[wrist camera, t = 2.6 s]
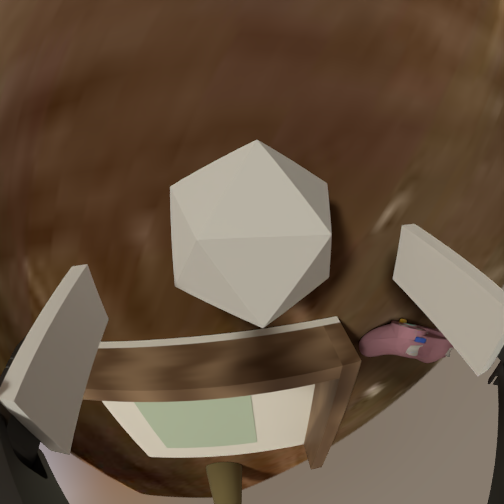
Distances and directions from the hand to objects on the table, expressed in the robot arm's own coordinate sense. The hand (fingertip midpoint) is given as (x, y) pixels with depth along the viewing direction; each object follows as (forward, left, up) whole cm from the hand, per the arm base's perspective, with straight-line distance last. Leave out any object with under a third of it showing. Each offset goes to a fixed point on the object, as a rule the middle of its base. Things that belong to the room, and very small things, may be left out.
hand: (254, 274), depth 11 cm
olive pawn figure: (+7, +42, -8) cm, 43 cm away
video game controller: (-15, +14, -8) cm, 22 cm away
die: (0, 0, -8) cm, 8 cm away
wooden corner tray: (+5, +22, -8) cm, 24 cm away
